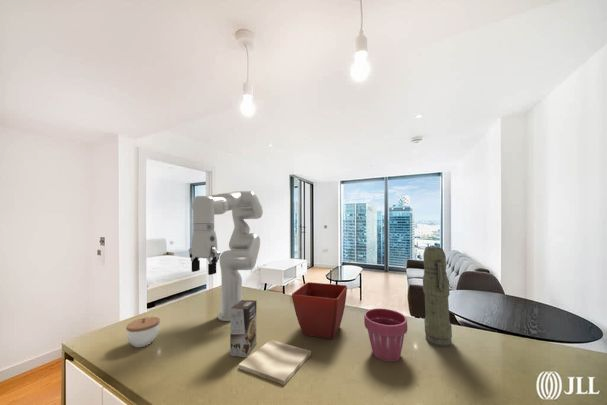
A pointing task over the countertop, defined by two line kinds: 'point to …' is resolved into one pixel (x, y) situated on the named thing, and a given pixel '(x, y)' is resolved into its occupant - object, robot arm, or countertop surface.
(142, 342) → the lidded jar
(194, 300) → the countertop surface
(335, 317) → the plant pot
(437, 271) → the moai statue figurine
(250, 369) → the birch board
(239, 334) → the coffee box
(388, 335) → the plant pot
